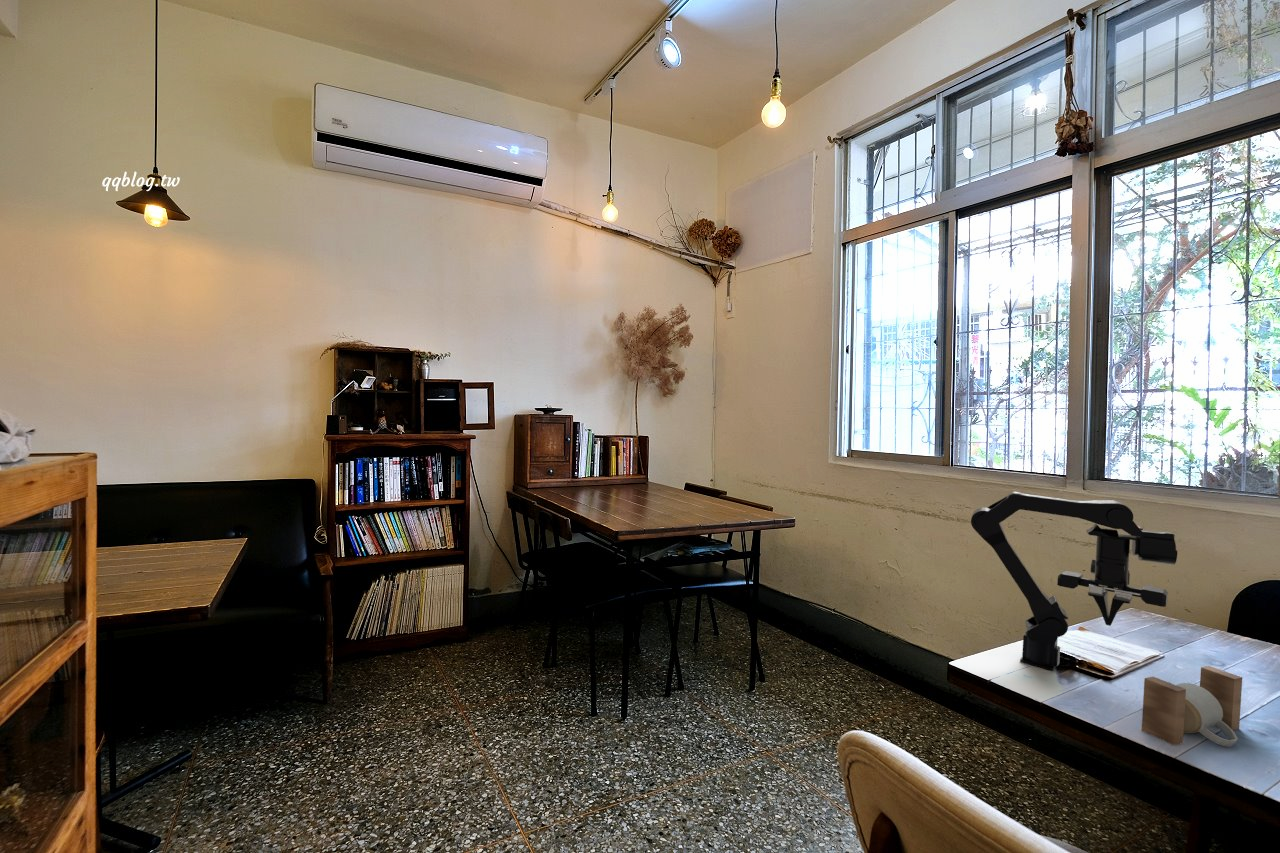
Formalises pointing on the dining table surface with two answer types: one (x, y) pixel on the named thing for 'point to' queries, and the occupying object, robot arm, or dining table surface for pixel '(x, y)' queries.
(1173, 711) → the walnut bookends
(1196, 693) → the ceramic mug
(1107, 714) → the dining table surface
